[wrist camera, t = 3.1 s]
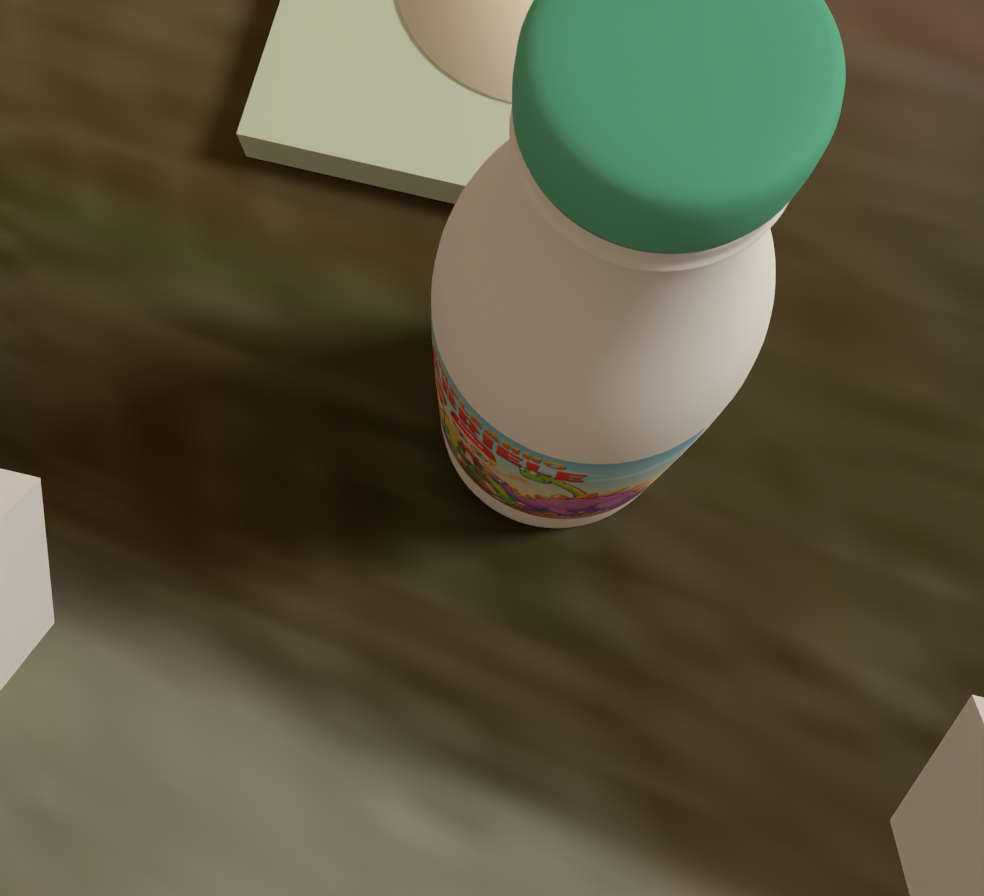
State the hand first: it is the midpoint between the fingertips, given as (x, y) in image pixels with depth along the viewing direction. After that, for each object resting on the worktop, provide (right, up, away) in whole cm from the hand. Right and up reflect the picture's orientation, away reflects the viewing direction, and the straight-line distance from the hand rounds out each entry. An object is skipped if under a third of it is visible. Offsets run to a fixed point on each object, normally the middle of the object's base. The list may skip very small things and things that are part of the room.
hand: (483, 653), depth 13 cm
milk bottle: (+2, +4, +19) cm, 19 cm away
